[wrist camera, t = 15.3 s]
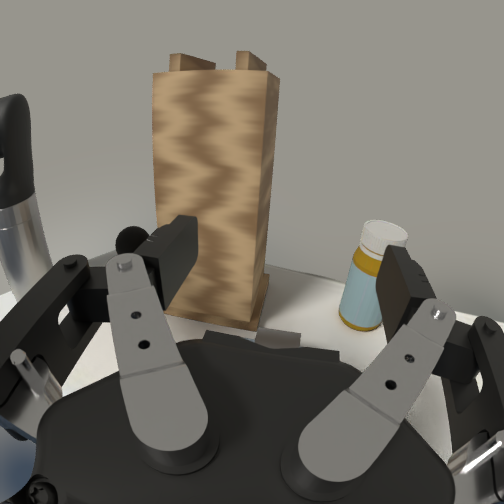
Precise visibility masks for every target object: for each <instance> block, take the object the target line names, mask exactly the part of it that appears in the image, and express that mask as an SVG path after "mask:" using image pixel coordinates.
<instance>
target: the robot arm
mask: <svg viewBox="0 0 504 504" xmlns="http://www.w3.org/2000/svg"><path fill="white" fill-rule="evenodd" d="M3 157H4V171H3V173H2V175H1V176H0V261H1V264H2V267H3V269H4V272H5V275H6V277H7V280H8V283H9V285H10V287H11V290H12V293H13V294H14V296H15V298H16V300H17V302H18V303H17V304H16V305H15V306H14V307H13V308H12V309H11V310H10V312H9V313H8V314H7V315H6V316H5V317H4V318H3V319H2V321H1V322H0V426H1V427H2V428H4V429H5V430H6V431H7V432H8V433H9V434H10V435H11V436H12V437H14V438H15V439H17V440H20V441H26V440H30V441H32V442H33V443H35V444H36V456H35V462H34V467H33V471H32V475H31V477H30V479H29V481H28V483H27V484H26V485H25V486H24V487H23V488H22V489H21V490H20V491H19V492H17V493H16V494H15V495H13V496H12V497H10V498H9V499H7V500H5V501H3V502H1V503H0V504H504V333H503V331H502V329H501V327H500V326H499V325H498V324H497V323H496V322H495V321H494V320H492V319H490V318H488V317H485V316H479V317H477V318H476V319H475V321H474V323H473V324H472V326H471V325H468V324H465V323H462V322H460V321H457V320H456V314H455V312H454V310H453V309H452V308H451V307H450V306H449V305H448V304H446V303H445V302H443V301H441V300H438V299H437V298H436V296H435V294H434V292H433V289H432V287H431V285H430V283H429V281H428V279H427V277H426V275H425V273H424V271H423V269H422V267H421V266H420V265H419V264H418V263H416V261H414V260H411V258H410V256H409V254H408V252H407V250H406V248H405V247H401V246H395V245H387V247H386V249H385V252H384V256H383V259H382V262H381V265H380V268H379V271H378V275H377V278H376V286H375V288H376V294H377V298H378V302H379V307H380V311H381V316H382V320H383V325H384V330H385V335H386V340H387V345H386V347H385V348H384V349H383V350H382V351H381V353H380V354H379V355H378V356H377V357H376V359H375V360H374V361H373V362H372V363H371V364H370V365H369V367H368V368H367V369H366V370H365V371H364V372H363V373H362V372H361V371H359V370H358V369H356V368H354V367H353V366H351V365H348V364H346V363H344V362H341V361H340V355H339V351H334V350H326V349H318V348H310V347H301V348H280V349H272V348H268V347H265V346H262V345H260V344H257V343H255V342H252V341H249V340H247V339H244V338H242V337H239V336H235V335H229V334H224V333H219V332H214V331H209V330H206V332H205V335H204V337H203V339H194V340H187V341H182V342H178V343H175V341H174V339H173V336H172V333H171V331H170V328H169V326H168V323H167V320H166V318H165V315H164V312H163V311H166V310H167V308H168V306H169V305H170V303H171V302H172V300H173V298H174V297H175V295H176V293H177V292H178V290H179V289H180V287H181V285H182V284H183V282H184V281H185V279H186V277H187V276H188V274H189V273H190V271H191V270H192V268H193V266H194V265H195V263H196V261H197V257H198V220H197V217H196V216H188V215H178V216H177V217H176V218H175V219H174V220H173V221H172V222H171V223H170V224H165V225H163V226H161V227H159V228H157V229H156V230H155V231H154V232H153V233H152V234H151V236H149V237H148V238H147V239H146V241H144V242H143V243H142V244H141V245H140V246H139V247H138V248H137V249H136V250H135V251H134V252H133V253H125V254H120V255H117V256H115V257H113V258H111V259H110V260H109V261H108V262H107V264H106V267H89V264H88V260H87V258H86V257H85V256H83V255H70V256H67V257H65V258H63V259H61V260H59V261H58V262H57V263H56V264H55V265H54V266H53V264H52V261H51V257H50V254H49V250H48V246H47V243H46V239H45V235H44V231H43V227H42V223H41V218H40V213H39V209H38V204H37V199H36V193H35V188H34V177H33V160H32V149H31V120H30V111H29V106H28V103H27V100H26V98H25V97H24V96H23V95H22V94H13V95H9V96H6V97H3V98H0V158H3ZM66 304H67V306H68V309H69V311H70V312H69V313H68V314H67V316H66V317H65V318H64V319H63V321H62V322H61V323H60V325H59V324H58V316H59V313H60V311H61V310H62V309H63V307H64V306H65V305H66ZM102 322H110V323H111V330H112V336H113V342H114V347H115V353H116V358H117V363H118V368H119V371H117V372H115V373H113V374H111V375H109V376H107V377H105V378H103V379H101V380H99V381H97V382H94V383H92V384H90V385H88V386H86V387H84V388H82V389H79V390H77V391H75V392H73V393H71V394H69V395H66V396H64V397H62V388H61V387H62V386H63V384H64V382H65V381H66V379H67V377H68V376H69V374H70V372H71V371H72V369H73V368H74V366H75V364H76V363H77V361H78V360H79V358H80V356H81V355H82V353H83V352H84V350H85V349H86V347H87V345H88V344H89V342H90V341H91V339H92V338H93V336H94V335H95V333H96V332H97V330H98V329H99V327H100V326H101V324H102ZM479 372H481V376H482V379H483V386H482V390H481V392H480V393H479V389H478V386H477V382H476V378H475V377H476V376H477V375H478V373H479ZM431 374H434V375H437V376H440V377H441V380H442V385H443V390H444V395H445V401H446V407H447V413H448V419H449V426H450V434H451V442H452V452H453V454H452V455H451V457H450V458H449V460H448V464H447V465H446V464H445V462H444V461H443V460H442V459H441V458H440V457H439V456H438V455H437V453H436V452H435V451H434V450H433V449H432V448H431V447H430V446H429V445H428V443H427V442H426V441H425V440H424V439H423V438H422V437H421V436H420V435H419V433H418V432H417V431H416V430H415V429H414V428H413V427H412V426H411V424H410V423H409V422H408V421H407V420H406V419H405V418H404V417H405V416H406V414H407V413H408V411H409V410H410V408H411V407H412V405H413V403H414V402H415V400H416V399H417V397H418V395H419V394H420V392H421V390H422V389H423V387H424V385H425V383H426V382H427V380H428V378H429V376H430V375H431Z"/></svg>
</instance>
